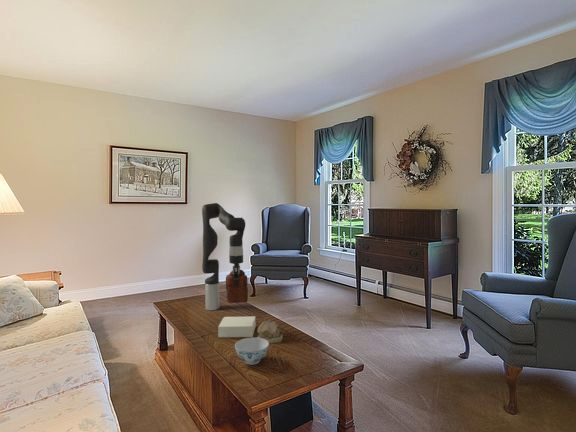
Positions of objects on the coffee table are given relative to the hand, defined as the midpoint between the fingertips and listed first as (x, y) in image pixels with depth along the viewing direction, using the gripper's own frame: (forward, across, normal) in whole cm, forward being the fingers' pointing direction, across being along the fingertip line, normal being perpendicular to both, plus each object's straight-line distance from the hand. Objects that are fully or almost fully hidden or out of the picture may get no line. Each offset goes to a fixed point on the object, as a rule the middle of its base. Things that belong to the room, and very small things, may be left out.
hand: (236, 284), depth 185 cm
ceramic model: (+26, +13, +17) cm, 34 cm away
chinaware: (+26, +37, +8) cm, 46 cm away
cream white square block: (+26, 0, 0) cm, 26 cm away
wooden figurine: (+10, 0, 0) cm, 10 cm away
